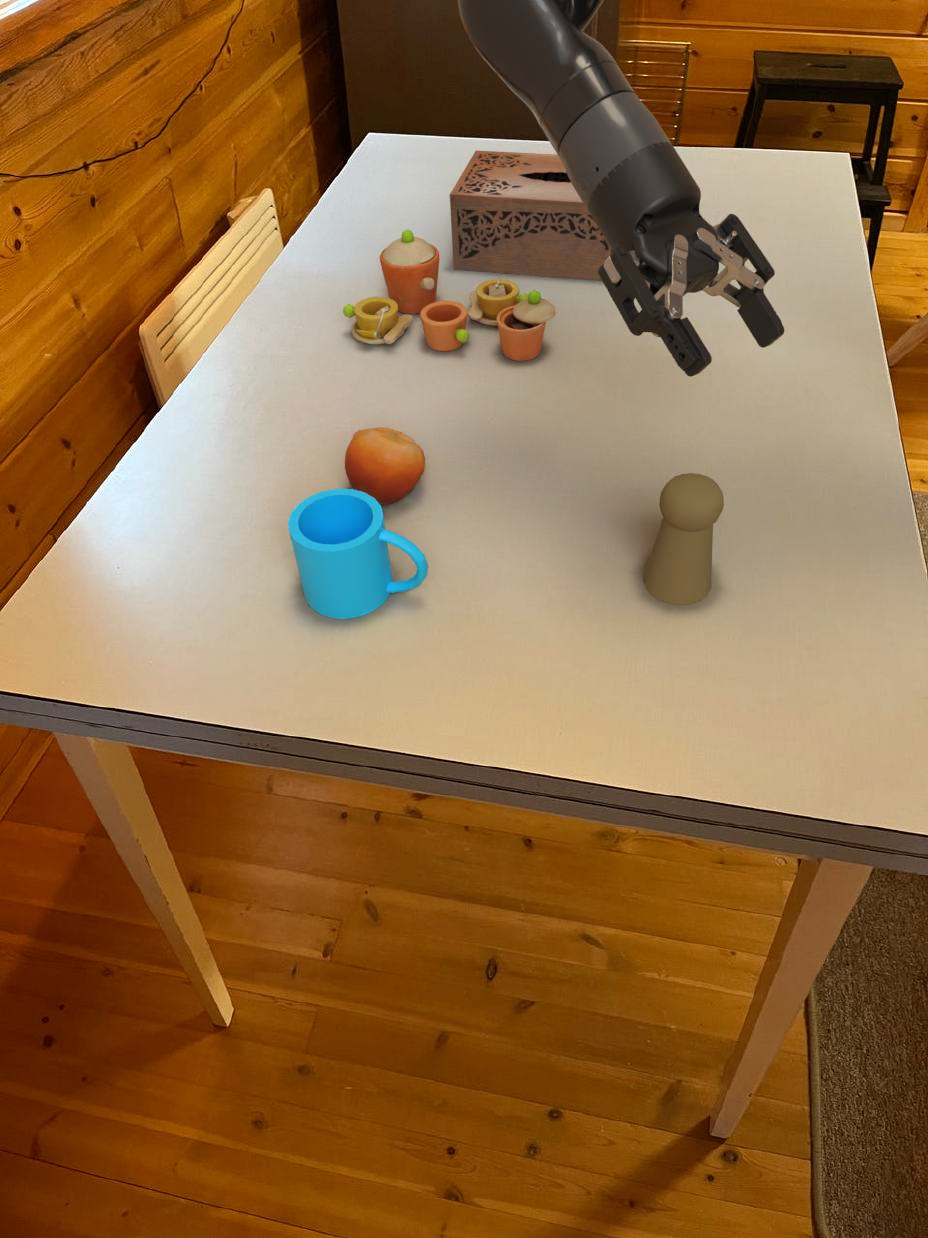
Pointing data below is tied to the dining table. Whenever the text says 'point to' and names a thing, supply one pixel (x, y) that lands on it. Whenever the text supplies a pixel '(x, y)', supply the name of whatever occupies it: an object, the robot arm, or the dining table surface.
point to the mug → (347, 553)
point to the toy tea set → (446, 305)
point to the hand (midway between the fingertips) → (739, 354)
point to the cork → (684, 540)
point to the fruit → (384, 464)
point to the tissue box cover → (523, 219)
